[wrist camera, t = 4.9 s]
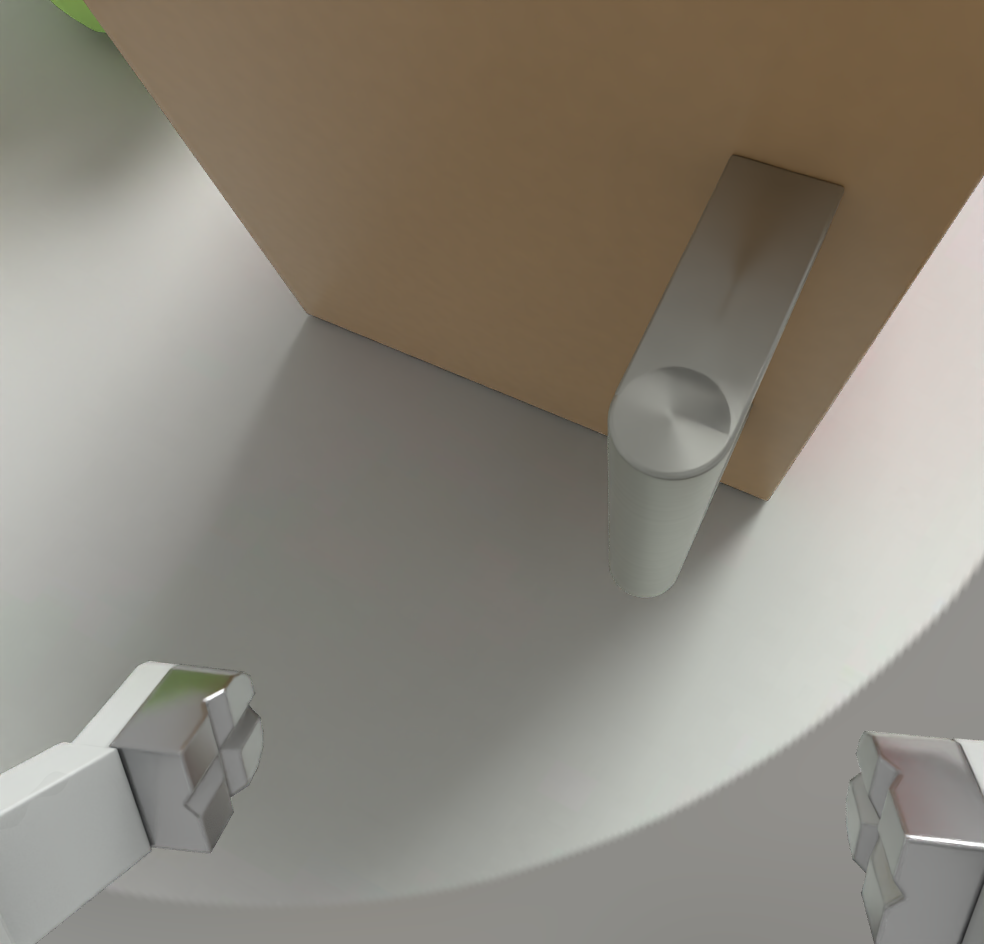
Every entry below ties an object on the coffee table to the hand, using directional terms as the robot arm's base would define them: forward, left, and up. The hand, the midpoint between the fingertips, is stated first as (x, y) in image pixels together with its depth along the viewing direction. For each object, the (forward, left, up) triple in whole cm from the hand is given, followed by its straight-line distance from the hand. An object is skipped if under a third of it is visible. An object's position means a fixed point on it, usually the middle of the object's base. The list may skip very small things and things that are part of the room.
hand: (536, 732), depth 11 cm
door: (+7, +7, -14) cm, 17 cm away
